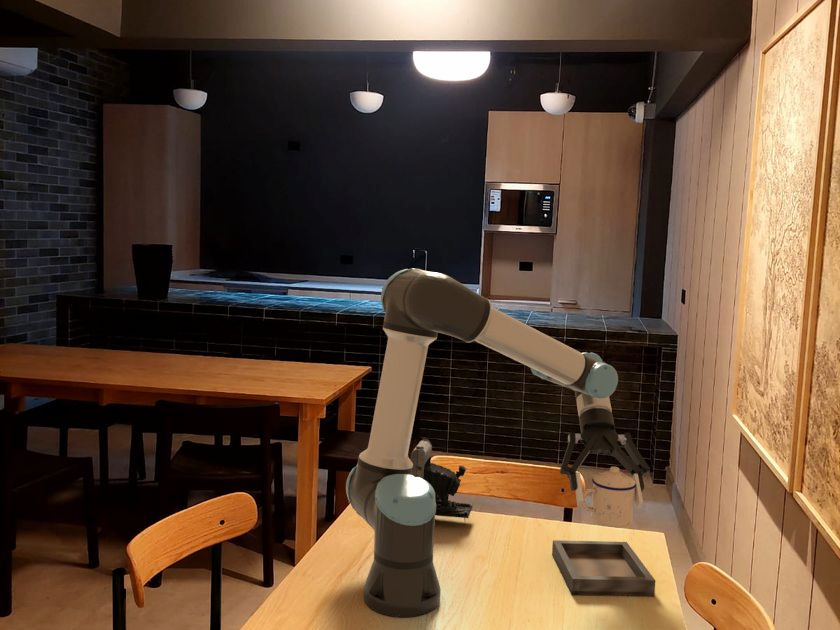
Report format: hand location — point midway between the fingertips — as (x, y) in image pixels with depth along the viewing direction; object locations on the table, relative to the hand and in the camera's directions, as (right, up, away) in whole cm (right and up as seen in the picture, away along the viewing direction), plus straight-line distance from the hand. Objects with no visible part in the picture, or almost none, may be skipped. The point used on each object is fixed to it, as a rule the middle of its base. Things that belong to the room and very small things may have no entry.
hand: (610, 504), depth 159 cm
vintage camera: (-35, -12, +31) cm, 48 cm away
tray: (-1, -16, +4) cm, 17 cm away
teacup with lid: (0, -4, +3) cm, 6 cm away
